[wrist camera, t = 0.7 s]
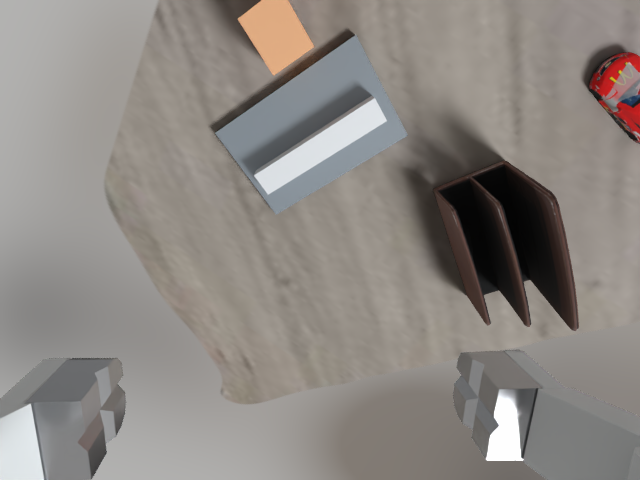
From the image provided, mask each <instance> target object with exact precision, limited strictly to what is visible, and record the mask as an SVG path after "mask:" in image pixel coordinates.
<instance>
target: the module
mask: <svg viewBox="0 0 640 480" xmlns="http://www.w3.org/2000/svg"><path fill="white" fill-rule="evenodd" d="M238 20H239V22H240V24H241V25H242V27H243V28H244V30H245V32H246V33H247V35H248V36H249V38H250V39H251V41H252V43H253V44H254V46H255V47H256V49H257V50H258V52H259V54H260V55H261V57H262V58H263V60H264V62H265V63H266V65H267V66H268V68H269V69H270V71H271V73H272V74H273V76H274V75H275V74H277V73H278V72H279V71H281V70H282V69H284V68H285V67H286V66H288V65H289V64H291V63H292V62H294V61H295V60H296V59H298V58H299V57H301V56H302V55H303V54H305V53H306V52H308V51H309V50H310V49H312V48H313V47H314V45H313V43H312V41H311V39H310V38H309V36H308V34H307V33H306V31H305V29H304V27H303V26H302V24H301V22H300V20H299V19H298V17H297V15H296V13H295V11H294V10H293V8H292V6H291V4H290V3H289V0H261V1H260V2H259V3H257V4H256V5H255V6H254V7H252V8H251V9H250V10H248V11H247V12H246V13H245V14H243V15H242V16H241V17H239V18H238Z"/></svg>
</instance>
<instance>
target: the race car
mask: <svg viewBox="0 0 640 480" xmlns="http://www.w3.org/2000/svg"><path fill="white" fill-rule="evenodd" d="M589 88H590V90H589V91H590V92H591V93H592V94H593V95H594V97H595V98H597V99H599V100H598V101H599V102H600V104H601V105H602V106H603V107H604V108H605V109H606V111H607V112H608V113H609V114H610V115H611V116H612V117H613V119H614V120H615V121H616V122H617V123H618V124H619V126H620V127H621V128H622V129H623V130H625V131H624V132H626V133H627V134H628V135H629V137H630V138H631V139H634V140H633V141H635V142H636V143H639V144H640V57H639V56H638V55H636V54H634V53H631V52H628V53H620V54H617V55H613V56H612V57H610V58H608V59H606V60H605V61H604V62H602V63H601V64H600V66H599V67H598V68H597V69H596V71H595V73H594V74H593V76H592V79H591V81H590V85H589Z"/></svg>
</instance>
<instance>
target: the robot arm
mask: <svg viewBox="0 0 640 480" xmlns="http://www.w3.org/2000/svg"><path fill="white" fill-rule="evenodd" d="M457 369H458V371H459V372H460V374H461V376H460V378H459V379H458V380H457V381H456V382H455V383H454V391H453V399H454V406H455V409H456V412H457V415H458V417H459V418H460V420H461V422H462V423H463V424H464V425H466V426H467V427H469V428H471V429H472V430H473V432H472V439H473V440H474V442H475V444H476V445H477V446H478V448H479V450H480V451H481V453H482V454H483V456H484V458H485V459H486V460H523V462H524V463H525V464H527V465H528V466H529V467H531V468H532V469H534V470H535V471H536V472H538V473H539V474H540V475H541V476H543V477H544V478H545V479H547V480H640V416H638V415H636V414H634V413H631V412H629V411H626V410H624V409H621V408H619V407H617V406H614V405H612V404H610V403H607V402H605V401H603V400H600V399H597V398H595V397H593V396H591V395H588V394H586V393H583V392H581V391H579V390H576V389H573V388H565V387H564V386H563V385H562V384H561V383H560V382H559V381H557V380H556V379H555V378H554V377H552V375H550V374H549V373H548V372H547V371H546V370H545V369H543V368H542V367H541V366H540V365H539V364H538V363H536V362H535V361H534V360H533V359H532V358H531V357H530V356H528V355H527V354H526V353H525V352H524V351H521V350H505V351H485V352H464V353H461V354H460V356H459V358H458V362H457ZM122 376H123V370H122V363H121V361H120V360H119V359H118V358H51V359H50V358H49V359H45V360H42V361H41V362H40V363H39V364H38V365H37V366H36V367H35V368H34V369H32V370H31V371H30V372H29V373H28V374H27V375H26V376H25V377H24V378H22V379H21V380H20V381H19V382H18V383H17V384H16V385H15V386H14V387H13V388H12V389H10V390H9V391H8V392H7V393H6V394H5V395H4V396H3V397H2V398H0V480H91V479H92V478H93V476H94V474H95V473H96V471H97V469H98V467H99V465H100V464H101V462H102V460H103V459H104V457H105V455H106V453H107V451H106V443H107V442H109V441H110V440H112V439H113V438H115V437H116V435H117V433H118V431H119V430H120V428H121V426H122V422H123V419H124V415H125V408H126V398H125V392H124V391H123V390H122V388H121V387H120V386H119V385H118V382H119V381H120V379H121V378H122Z"/></svg>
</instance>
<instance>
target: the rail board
mask: <svg viewBox="0 0 640 480" xmlns="http://www.w3.org/2000/svg"><path fill="white" fill-rule="evenodd" d="M215 134H216V135H217V136H218V138H219V139H220V140H221V142H222V143H223V144H224V146H225V147H226V148H227V150H228V151H229V152H230V154H231V155H232V156H233V158H234V159H235V160H236V162H237V163H238V164H239V166H240V167H241V168H242V170H243V171H244V172H245V174H246V175H247V176H248V178H249V179H250V180H251V182H252V183H253V184H254V186H255V187H256V188H257V190H258V191H259V192H260V194H261V195H262V196H263V198H264V199H265V200H266V202H267V203H268V204H269V206H270V207H271V208H272V210H273V211H274V212H275V214H278V213H280V212H281V211H283V210H285V209H286V208H288V207H290V206H291V205H293V204H295V203H296V202H298V201H300V200H301V199H303V198H305V197H306V196H308V195H310V194H311V193H313V192H315V191H316V190H318V189H320V188H321V187H323V186H325V185H326V184H328V183H330V182H331V181H333V180H335V179H336V178H338V177H340V176H341V175H343V174H345V173H346V172H348V171H350V170H351V169H353V168H355V167H356V166H358V165H360V164H361V163H363V162H364V161H366V160H368V159H369V158H371V157H373V156H374V155H376V154H378V153H379V152H381V151H383V150H384V149H386V148H388V147H389V146H391V145H393V144H394V143H396V142H398V141H399V140H401V139H403V138H404V137H406V136H408V135H407V133H406V131H405V129H404V127H403V125H402V123H401V121H400V119H399V117H398V115H397V114H396V112H395V110H394V108H393V106H392V104H391V102H390V100H389V98H388V96H387V94H386V92H385V90H384V88H383V86H382V84H381V82H380V80H379V79H378V77H377V75H376V73H375V71H374V69H373V67H372V65H371V63H370V61H369V59H368V57H367V55H366V53H365V51H364V49H363V47H362V46H361V44H360V42H359V40H358V38H357V36H356V35H354V36H353V37H351V38H350V39H349V40H347V41H346V42H344V43H343V44H341V45H340V46H339V47H337V48H336V49H334V50H333V51H331V52H330V53H329V54H327V55H326V56H324V57H323V58H321V59H320V60H318V61H317V62H316V63H314V64H313V65H311V66H310V67H308V68H307V69H306V70H304V71H303V72H301V73H300V74H298V75H297V76H296V77H294V78H293V79H291V80H290V81H288V82H287V83H286V84H284V85H283V86H281V87H280V88H278V89H277V90H276V91H274V92H273V93H271V94H270V95H268V96H267V97H265V98H264V99H263V100H261V101H260V102H258V103H257V104H255V105H254V106H253V107H251V108H250V109H248V110H247V111H245V112H244V113H243V114H241V115H240V116H238V117H237V118H235V119H234V120H233V121H231V122H230V123H228V124H227V125H225V126H224V127H223V128H221V129H220V130H218V131H217V132H216V133H215Z"/></svg>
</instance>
